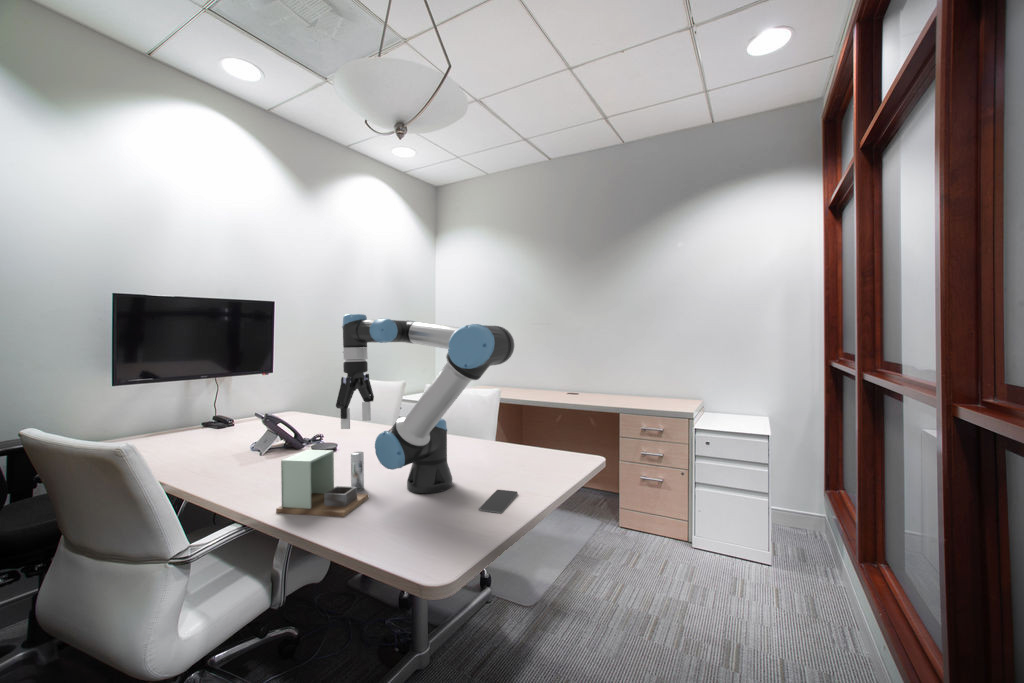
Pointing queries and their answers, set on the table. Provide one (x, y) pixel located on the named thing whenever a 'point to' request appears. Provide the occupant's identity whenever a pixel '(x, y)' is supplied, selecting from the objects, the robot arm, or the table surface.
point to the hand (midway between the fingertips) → (356, 424)
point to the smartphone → (498, 501)
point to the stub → (357, 470)
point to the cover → (306, 477)
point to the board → (330, 503)
